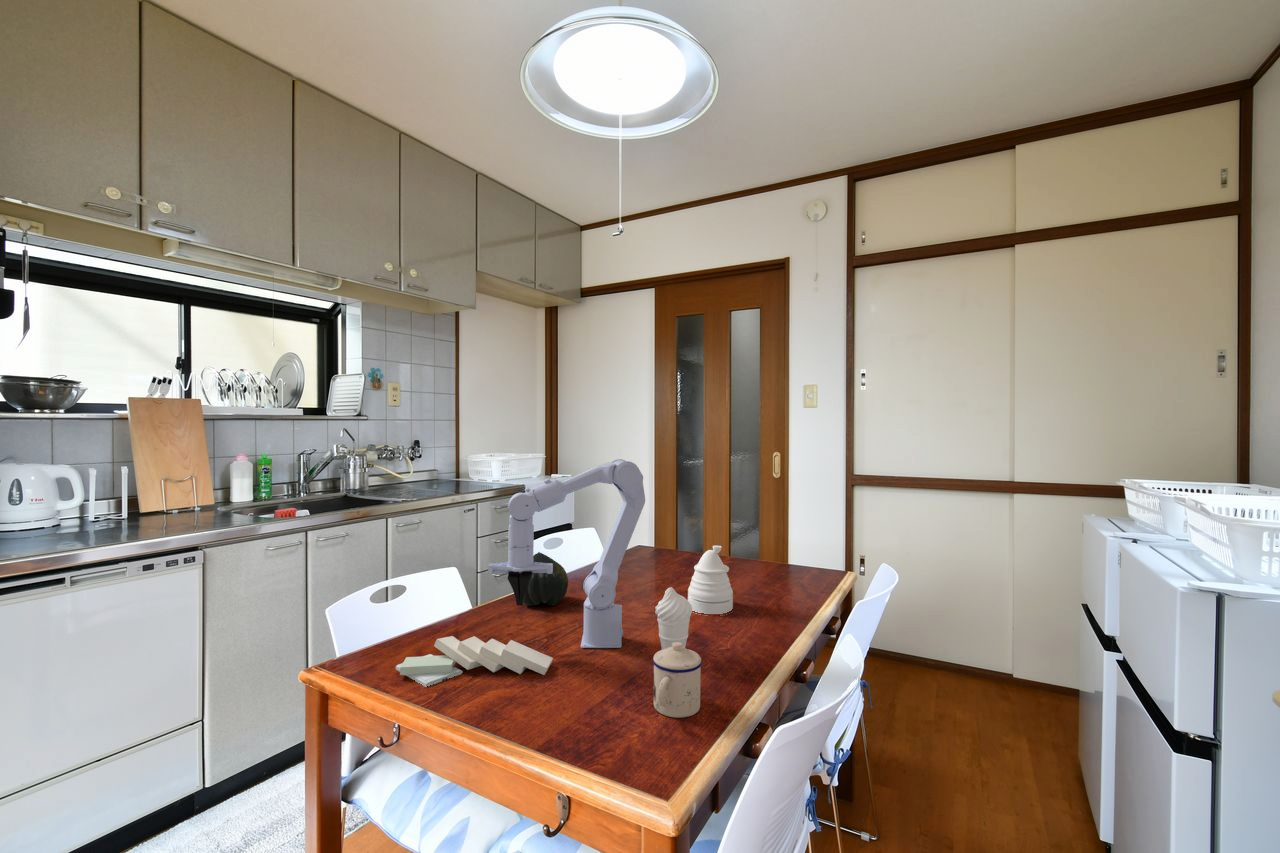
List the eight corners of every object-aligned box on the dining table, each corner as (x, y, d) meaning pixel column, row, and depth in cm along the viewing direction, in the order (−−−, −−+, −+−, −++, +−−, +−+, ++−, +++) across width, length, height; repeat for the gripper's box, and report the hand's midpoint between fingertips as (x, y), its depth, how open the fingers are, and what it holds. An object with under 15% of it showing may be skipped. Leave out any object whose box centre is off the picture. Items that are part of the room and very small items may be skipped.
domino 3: (509, 658, 119) (474, 636, 122) (496, 665, 114) (459, 641, 118) (507, 665, 119) (471, 642, 122) (493, 672, 114) (457, 648, 118)
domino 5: (553, 658, 119) (511, 639, 120) (547, 668, 114) (503, 649, 115) (550, 664, 119) (508, 646, 120) (544, 675, 114) (500, 656, 115)
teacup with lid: (664, 690, 108) (664, 631, 108) (708, 701, 104) (709, 639, 104) (636, 719, 97) (637, 653, 97) (684, 732, 93) (685, 663, 93)
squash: (555, 595, 151) (564, 546, 161) (503, 594, 153) (516, 546, 163) (567, 617, 161) (575, 570, 171) (518, 615, 163) (529, 569, 173)
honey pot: (739, 606, 160) (740, 544, 160) (721, 619, 149) (722, 552, 149) (699, 598, 167) (700, 539, 167) (679, 610, 156) (680, 546, 156)
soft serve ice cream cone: (695, 654, 125) (696, 584, 125) (686, 670, 117) (687, 594, 118) (660, 649, 128) (661, 580, 128) (649, 664, 120) (650, 590, 120)
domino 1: (455, 654, 118) (406, 657, 117) (451, 664, 113) (400, 667, 112) (455, 662, 118) (406, 664, 117) (451, 672, 113) (399, 675, 112)
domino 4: (532, 658, 119) (492, 638, 121) (523, 667, 114) (481, 646, 116) (529, 664, 119) (489, 644, 121) (520, 674, 114) (478, 653, 116)
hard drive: (395, 665, 116) (426, 682, 109) (431, 653, 123) (462, 669, 115) (395, 672, 116) (425, 691, 108) (431, 660, 123) (462, 677, 115)
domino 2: (485, 658, 119) (452, 636, 123) (470, 662, 114) (436, 638, 118) (482, 665, 119) (449, 642, 123) (467, 669, 114) (433, 646, 118)
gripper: (485, 549, 123) (484, 609, 123) (550, 549, 124) (549, 609, 124) (492, 542, 130) (491, 599, 130) (554, 542, 131) (553, 599, 131)
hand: (520, 604), depth 128 cm, fingers closed
